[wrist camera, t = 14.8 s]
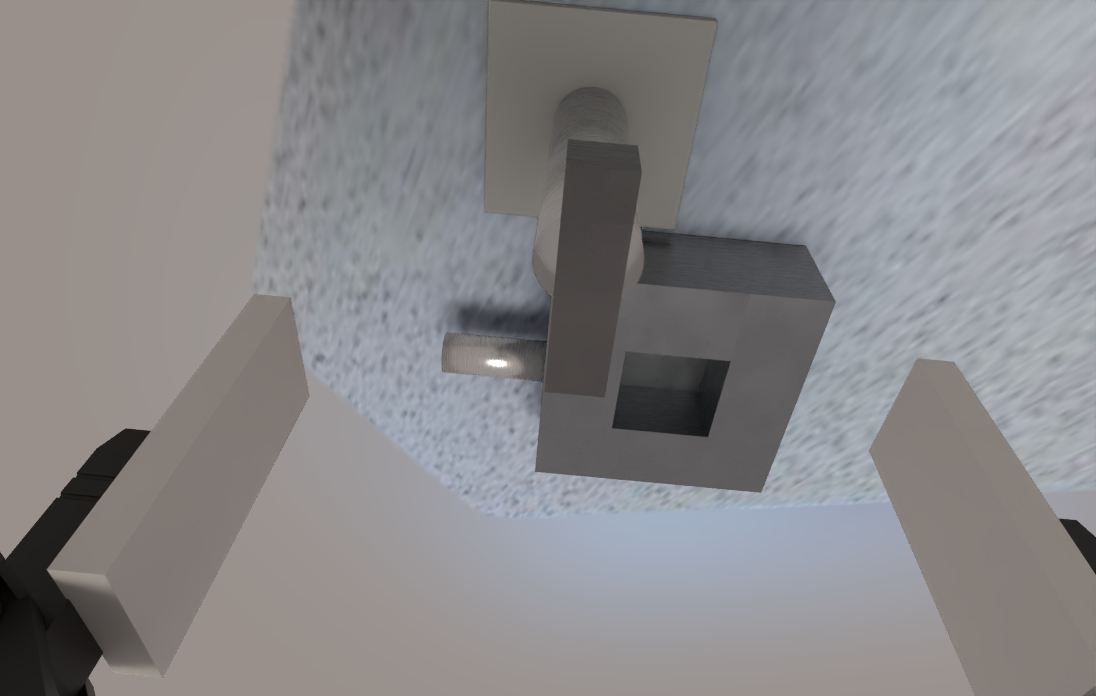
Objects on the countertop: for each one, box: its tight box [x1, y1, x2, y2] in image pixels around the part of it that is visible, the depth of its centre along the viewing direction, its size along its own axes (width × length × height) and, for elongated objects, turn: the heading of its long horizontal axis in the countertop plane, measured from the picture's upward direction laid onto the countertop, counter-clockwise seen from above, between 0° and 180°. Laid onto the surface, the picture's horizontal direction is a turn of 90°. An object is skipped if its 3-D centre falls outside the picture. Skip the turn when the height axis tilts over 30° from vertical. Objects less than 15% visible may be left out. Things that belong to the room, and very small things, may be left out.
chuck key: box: [533, 87, 644, 398], centre depth 23 cm, size 7×3×14 cm, turn 176°
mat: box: [484, 0, 718, 230], centre depth 29 cm, size 9×9×1 cm
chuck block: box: [442, 231, 836, 492], centre depth 34 cm, size 12×17×5 cm
